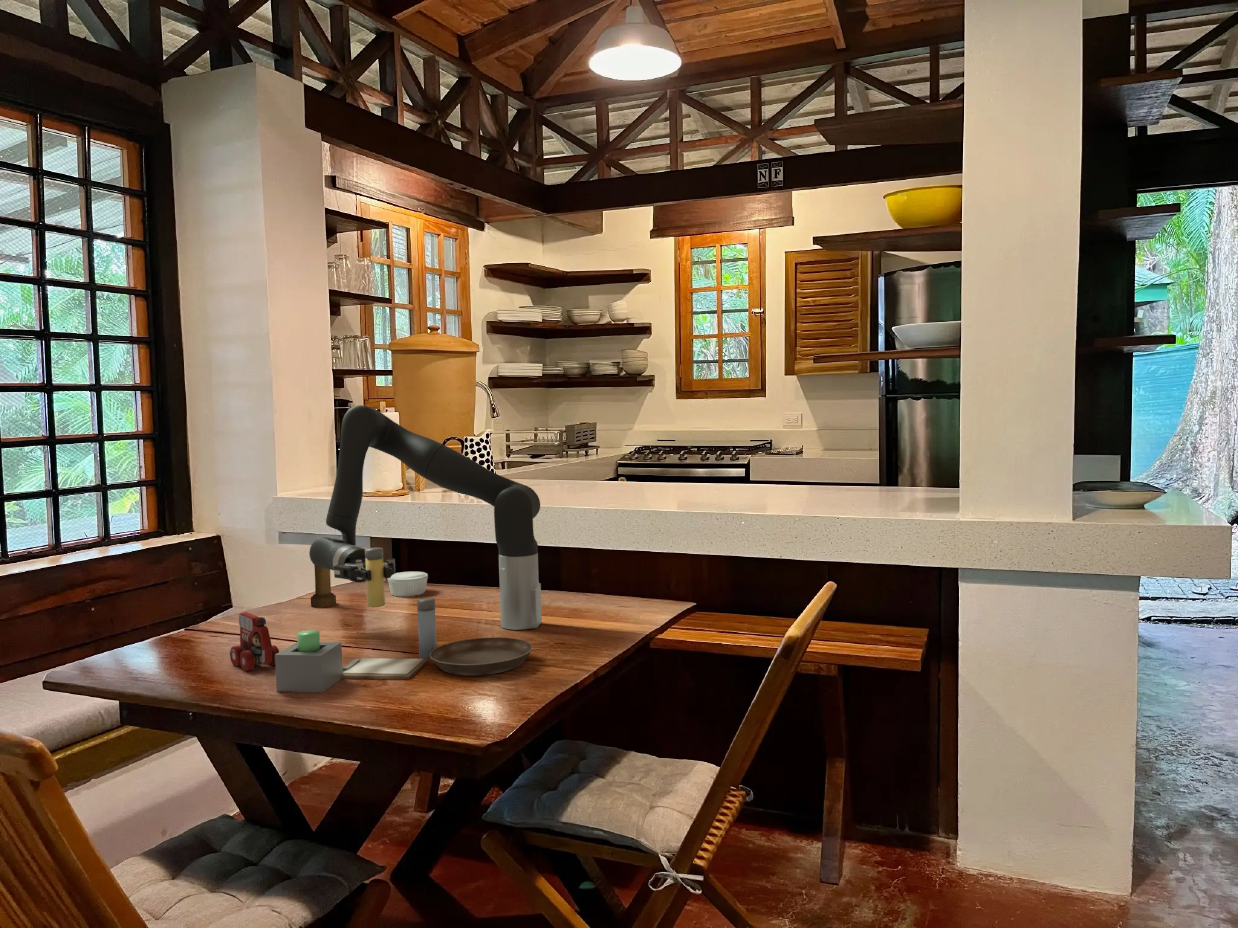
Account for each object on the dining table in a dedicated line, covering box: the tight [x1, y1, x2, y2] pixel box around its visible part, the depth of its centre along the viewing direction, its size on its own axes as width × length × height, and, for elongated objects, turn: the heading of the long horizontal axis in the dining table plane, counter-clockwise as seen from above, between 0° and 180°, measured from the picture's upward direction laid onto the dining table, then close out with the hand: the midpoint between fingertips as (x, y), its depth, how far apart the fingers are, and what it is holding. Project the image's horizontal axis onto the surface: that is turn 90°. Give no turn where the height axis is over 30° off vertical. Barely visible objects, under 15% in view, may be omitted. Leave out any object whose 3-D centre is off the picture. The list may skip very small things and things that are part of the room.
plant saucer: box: [430, 636, 533, 677], centre depth 184 cm, size 21×21×3 cm
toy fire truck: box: [229, 611, 280, 672], centre depth 186 cm, size 7×12×10 cm, turn 45°
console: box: [274, 641, 344, 693], centre depth 173 cm, size 9×9×7 cm
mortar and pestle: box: [310, 564, 337, 608], centre depth 241 cm, size 7×6×18 cm
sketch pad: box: [342, 657, 430, 680], centre depth 182 cm, size 15×12×1 cm
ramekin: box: [386, 571, 429, 598], centre depth 254 cm, size 11×11×5 cm
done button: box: [296, 629, 321, 652], centre depth 172 cm, size 4×4×4 cm
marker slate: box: [416, 597, 437, 659], centre depth 190 cm, size 4×4×12 cm
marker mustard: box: [364, 547, 386, 608], centre depth 191 cm, size 4×4×12 cm
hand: (379, 574), depth 188 cm, fingers closed on marker mustard, 3 cm apart
